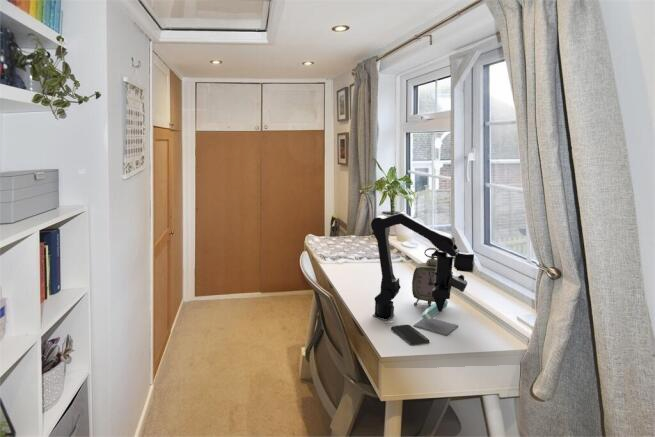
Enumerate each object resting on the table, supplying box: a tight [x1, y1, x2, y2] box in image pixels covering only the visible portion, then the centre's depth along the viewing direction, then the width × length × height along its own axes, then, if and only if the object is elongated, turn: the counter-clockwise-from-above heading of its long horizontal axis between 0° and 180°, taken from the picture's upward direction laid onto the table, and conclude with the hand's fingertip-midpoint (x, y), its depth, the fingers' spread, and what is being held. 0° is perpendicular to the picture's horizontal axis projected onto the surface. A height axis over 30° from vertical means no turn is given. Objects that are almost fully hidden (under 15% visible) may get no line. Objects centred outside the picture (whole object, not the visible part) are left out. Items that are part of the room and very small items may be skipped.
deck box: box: [421, 299, 449, 321], centre depth 170 cm, size 2×5×10 cm
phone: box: [390, 324, 430, 346], centre depth 161 cm, size 8×1×15 cm
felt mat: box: [413, 317, 459, 337], centre depth 170 cm, size 13×11×1 cm
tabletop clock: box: [411, 247, 444, 311], centre depth 189 cm, size 14×9×25 cm, turn 73°
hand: (440, 309), depth 169 cm, fingers closed on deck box, 5 cm apart
